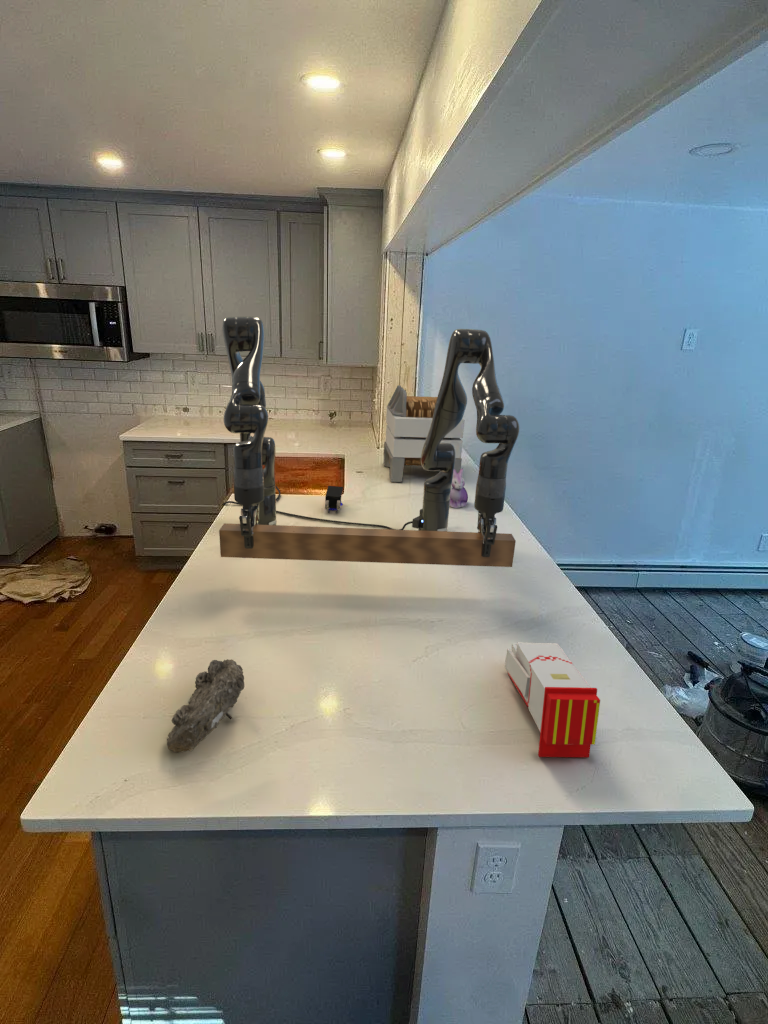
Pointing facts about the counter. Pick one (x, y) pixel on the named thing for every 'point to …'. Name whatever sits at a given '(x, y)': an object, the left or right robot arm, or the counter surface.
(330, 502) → the figurine character
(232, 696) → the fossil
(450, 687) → the counter surface
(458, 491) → the figurine
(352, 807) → the counter surface
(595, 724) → the toy
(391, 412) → the transformer
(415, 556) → the post
